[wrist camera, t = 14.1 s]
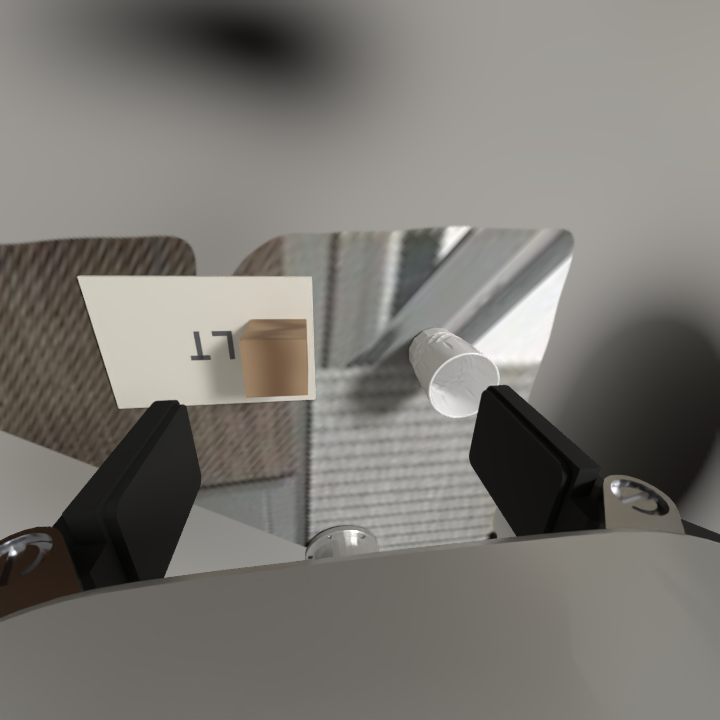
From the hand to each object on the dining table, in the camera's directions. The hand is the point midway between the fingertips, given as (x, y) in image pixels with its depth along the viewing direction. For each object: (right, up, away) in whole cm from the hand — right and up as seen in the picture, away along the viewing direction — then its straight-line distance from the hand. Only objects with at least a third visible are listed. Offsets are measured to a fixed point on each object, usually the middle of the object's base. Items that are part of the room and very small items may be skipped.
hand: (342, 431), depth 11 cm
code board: (-17, +4, +29) cm, 34 cm away
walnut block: (-9, +4, +30) cm, 31 cm away
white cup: (+10, +4, +34) cm, 35 cm away
